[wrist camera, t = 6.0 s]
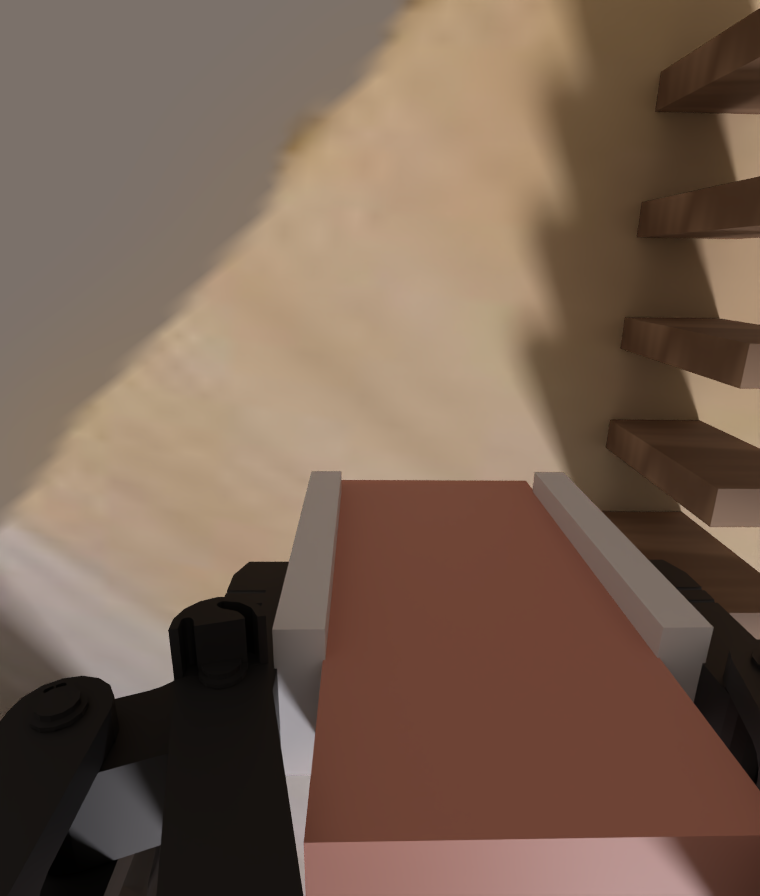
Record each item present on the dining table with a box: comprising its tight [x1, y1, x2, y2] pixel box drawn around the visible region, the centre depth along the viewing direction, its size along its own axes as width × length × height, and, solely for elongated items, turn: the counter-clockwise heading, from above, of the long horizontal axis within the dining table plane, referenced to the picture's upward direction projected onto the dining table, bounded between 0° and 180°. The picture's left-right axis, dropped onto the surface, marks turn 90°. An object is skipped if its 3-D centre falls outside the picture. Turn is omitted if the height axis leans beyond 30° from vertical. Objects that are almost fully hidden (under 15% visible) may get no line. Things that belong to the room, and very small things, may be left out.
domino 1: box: [304, 480, 760, 896], centre depth 11 cm, size 2×5×10 cm, turn 89°
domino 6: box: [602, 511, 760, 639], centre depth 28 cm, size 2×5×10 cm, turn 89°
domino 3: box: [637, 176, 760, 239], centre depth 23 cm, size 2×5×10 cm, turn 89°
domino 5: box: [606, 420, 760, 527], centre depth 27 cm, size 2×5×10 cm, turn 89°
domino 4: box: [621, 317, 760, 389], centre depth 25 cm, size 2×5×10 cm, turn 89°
